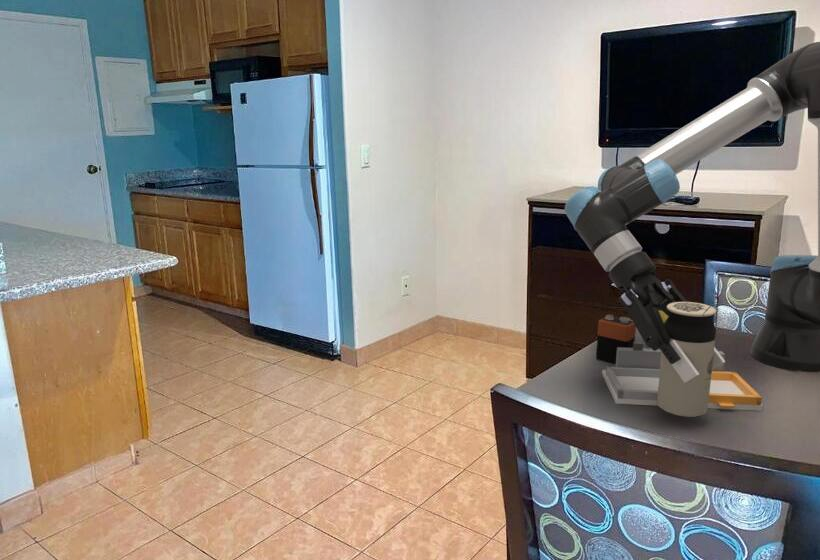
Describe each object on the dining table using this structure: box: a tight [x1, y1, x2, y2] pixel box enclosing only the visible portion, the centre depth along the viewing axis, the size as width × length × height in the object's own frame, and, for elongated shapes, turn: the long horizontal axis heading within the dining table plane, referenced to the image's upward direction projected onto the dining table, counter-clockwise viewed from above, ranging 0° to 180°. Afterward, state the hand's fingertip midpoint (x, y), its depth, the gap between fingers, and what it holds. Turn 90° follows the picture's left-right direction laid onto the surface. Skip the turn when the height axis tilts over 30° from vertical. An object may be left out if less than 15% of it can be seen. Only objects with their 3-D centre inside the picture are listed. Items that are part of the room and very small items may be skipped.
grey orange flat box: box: [601, 341, 764, 412], centre depth 113 cm, size 25×15×7 cm, turn 82°
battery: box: [595, 314, 637, 365], centre depth 130 cm, size 4×7×10 cm, turn 46°
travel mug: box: [657, 301, 717, 418], centre depth 101 cm, size 8×8×18 cm
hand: (705, 371), depth 99 cm, fingers closed on travel mug, 8 cm apart
